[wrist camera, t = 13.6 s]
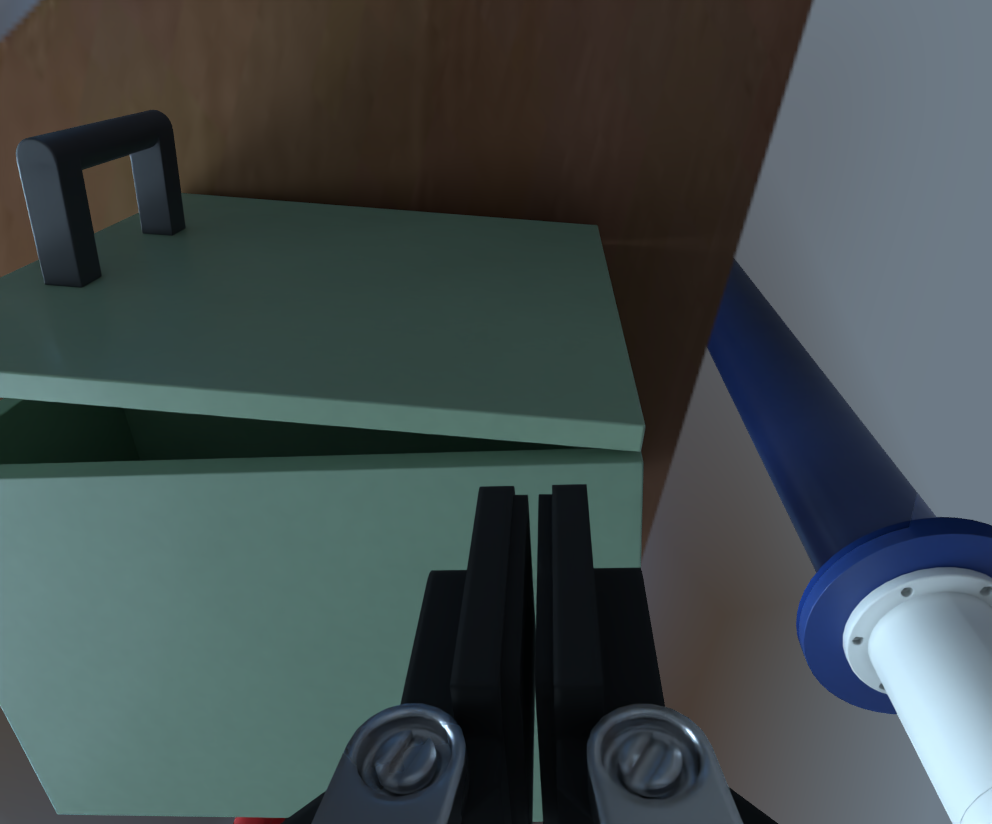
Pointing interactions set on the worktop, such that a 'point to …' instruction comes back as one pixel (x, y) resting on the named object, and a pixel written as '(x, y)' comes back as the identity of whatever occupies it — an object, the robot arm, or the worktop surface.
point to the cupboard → (237, 591)
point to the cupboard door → (308, 308)
